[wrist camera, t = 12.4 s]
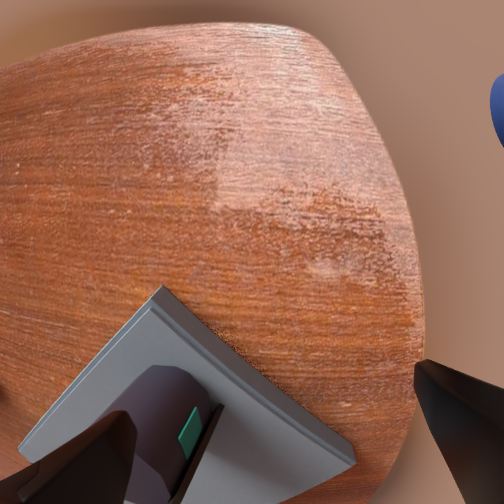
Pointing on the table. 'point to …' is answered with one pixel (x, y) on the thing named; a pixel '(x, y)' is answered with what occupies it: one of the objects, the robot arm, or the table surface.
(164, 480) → the speaker
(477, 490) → the robot arm
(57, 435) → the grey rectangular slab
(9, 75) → the table surface
